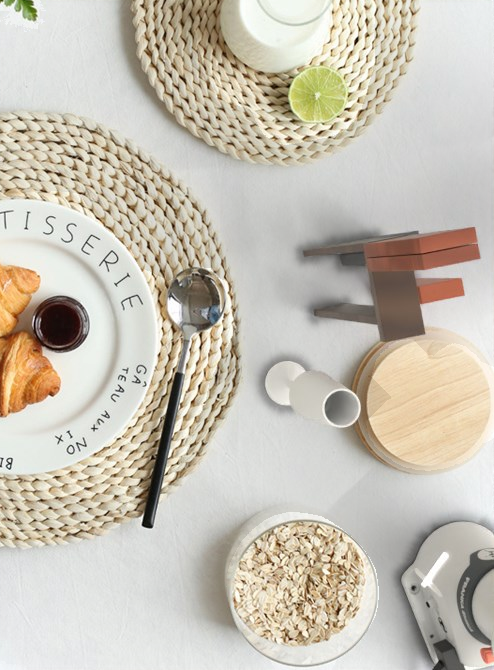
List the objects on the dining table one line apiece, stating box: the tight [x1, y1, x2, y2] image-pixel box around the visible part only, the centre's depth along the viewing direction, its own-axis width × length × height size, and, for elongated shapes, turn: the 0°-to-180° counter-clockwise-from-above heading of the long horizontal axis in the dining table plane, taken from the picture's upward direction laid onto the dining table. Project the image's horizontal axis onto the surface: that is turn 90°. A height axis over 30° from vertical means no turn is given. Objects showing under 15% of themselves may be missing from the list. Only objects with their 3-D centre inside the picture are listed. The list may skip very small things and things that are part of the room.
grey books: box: [339, 230, 420, 267], centre depth 116 cm, size 3×6×15 cm, turn 101°
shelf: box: [363, 226, 482, 343], centre depth 91 cm, size 12×6×16 cm, turn 11°
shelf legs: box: [302, 236, 397, 326], centre depth 111 cm, size 10×5×24 cm, turn 11°
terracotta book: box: [415, 277, 466, 305], centre depth 117 cm, size 2×6×15 cm, turn 101°
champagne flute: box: [264, 360, 362, 428], centre depth 111 cm, size 7×7×24 cm
